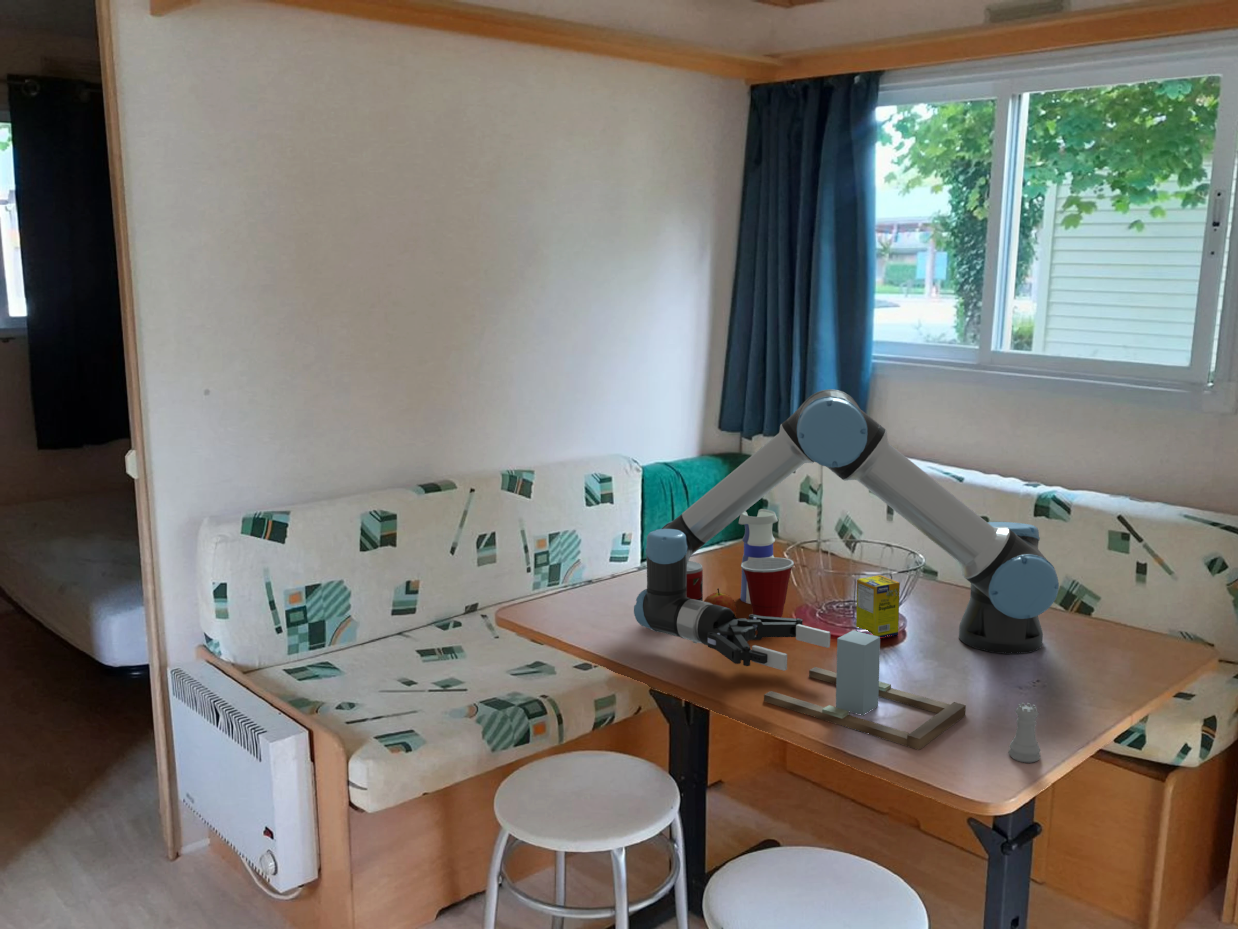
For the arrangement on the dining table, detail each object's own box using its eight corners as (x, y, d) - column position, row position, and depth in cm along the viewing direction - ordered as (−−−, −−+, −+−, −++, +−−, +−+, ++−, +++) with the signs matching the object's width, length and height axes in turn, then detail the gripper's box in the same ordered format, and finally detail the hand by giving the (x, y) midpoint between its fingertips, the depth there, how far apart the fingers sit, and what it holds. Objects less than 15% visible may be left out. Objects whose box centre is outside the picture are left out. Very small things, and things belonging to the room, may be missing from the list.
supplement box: (899, 636, 208) (900, 582, 206) (874, 641, 206) (876, 586, 203) (879, 626, 213) (880, 574, 211) (855, 631, 211) (856, 578, 209)
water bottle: (731, 595, 234) (731, 484, 230) (766, 591, 237) (767, 481, 232) (746, 606, 227) (747, 492, 222) (783, 602, 229) (784, 488, 225)
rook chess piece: (1033, 749, 160) (1036, 699, 158) (1045, 763, 155) (1048, 712, 154) (1003, 750, 159) (1006, 700, 158) (1015, 764, 155) (1018, 713, 154)
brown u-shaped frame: (764, 701, 178) (764, 691, 178) (815, 673, 190) (815, 663, 190) (919, 750, 160) (919, 739, 160) (965, 715, 172) (965, 705, 171)
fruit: (742, 629, 213) (742, 591, 211) (711, 634, 210) (711, 595, 209) (726, 619, 219) (726, 581, 218) (696, 623, 217) (695, 586, 215)
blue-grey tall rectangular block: (835, 707, 176) (837, 638, 173) (851, 698, 179) (853, 630, 177) (862, 715, 172) (864, 645, 170) (878, 706, 176) (880, 637, 174)
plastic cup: (758, 606, 227) (758, 551, 225) (802, 615, 220) (803, 560, 218) (730, 619, 219) (730, 563, 217) (775, 630, 212) (776, 572, 210)
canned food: (700, 623, 217) (700, 571, 215) (661, 621, 218) (661, 570, 216) (704, 611, 224) (704, 561, 222) (667, 609, 226) (667, 559, 224)
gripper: (747, 625, 204) (845, 651, 190) (664, 663, 186) (766, 694, 172) (747, 588, 203) (846, 611, 189) (664, 622, 185) (766, 650, 171)
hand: (808, 651), depth 181 cm, fingers open, 13 cm apart
